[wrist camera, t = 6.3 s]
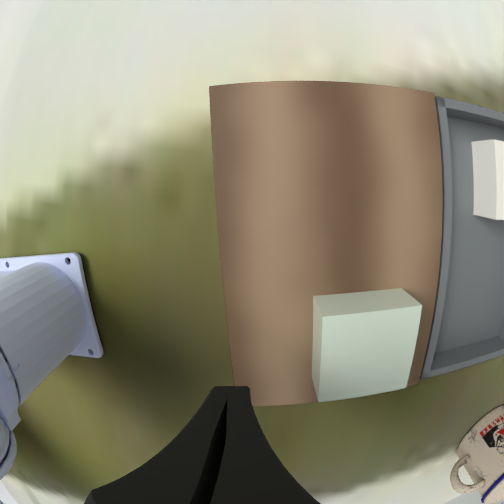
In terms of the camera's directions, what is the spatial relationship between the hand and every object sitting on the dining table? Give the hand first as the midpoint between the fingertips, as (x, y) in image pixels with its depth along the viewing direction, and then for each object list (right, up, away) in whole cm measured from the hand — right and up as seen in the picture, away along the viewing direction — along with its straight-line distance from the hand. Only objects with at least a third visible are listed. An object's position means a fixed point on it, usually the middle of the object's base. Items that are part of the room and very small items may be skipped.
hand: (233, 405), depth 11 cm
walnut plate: (+5, +6, +7) cm, 11 cm away
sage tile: (+6, +1, +5) cm, 8 cm away
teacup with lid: (+27, -15, +12) cm, 33 cm away
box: (+17, +7, +7) cm, 19 cm away
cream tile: (+18, +10, +3) cm, 21 cm away
